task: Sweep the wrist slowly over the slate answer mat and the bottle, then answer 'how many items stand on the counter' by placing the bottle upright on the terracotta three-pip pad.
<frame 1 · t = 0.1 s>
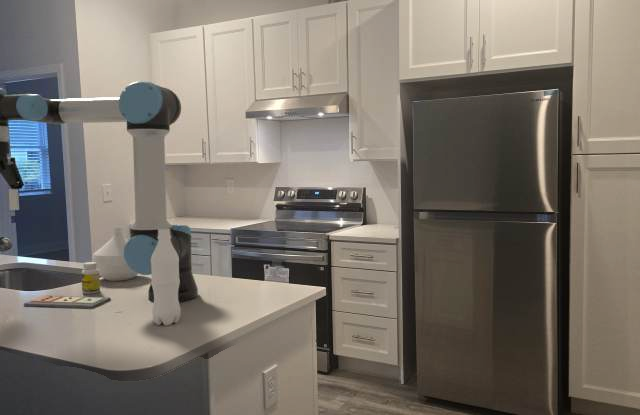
water bottle: (166, 323, 142), on the counter
vase: (119, 278, 199), on the counter
supplement bottle: (91, 292, 177), on the counter
answer mat: (68, 302, 163), on the counter
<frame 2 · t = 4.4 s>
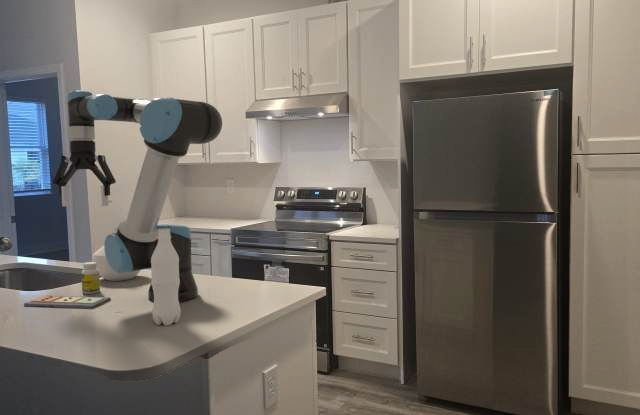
hand: (85, 206, 174), 29 cm above the counter, fingers open, 13 cm apart
nothing on the counter moved.
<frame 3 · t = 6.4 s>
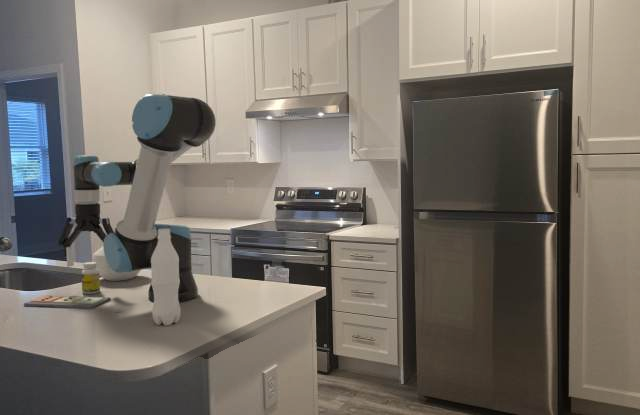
hand: (89, 267, 177), 8 cm above the counter, fingers open, 13 cm apart
nothing on the counter moved.
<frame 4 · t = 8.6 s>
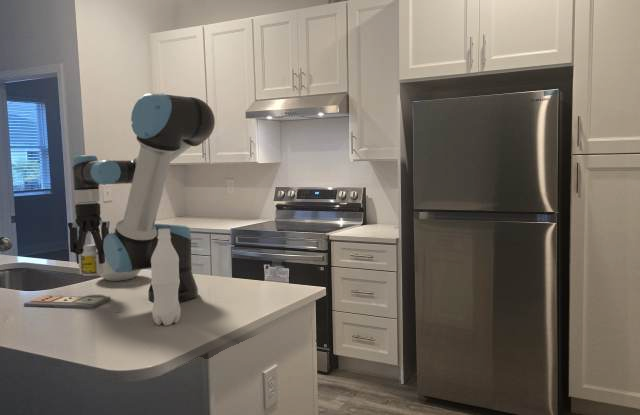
hand: (91, 273, 176), 6 cm above the counter, fingers closed on supplement bottle, 5 cm apart
supplement bottle: (91, 275, 176), point 6 cm above the counter, touching gripper
everything else where it was.
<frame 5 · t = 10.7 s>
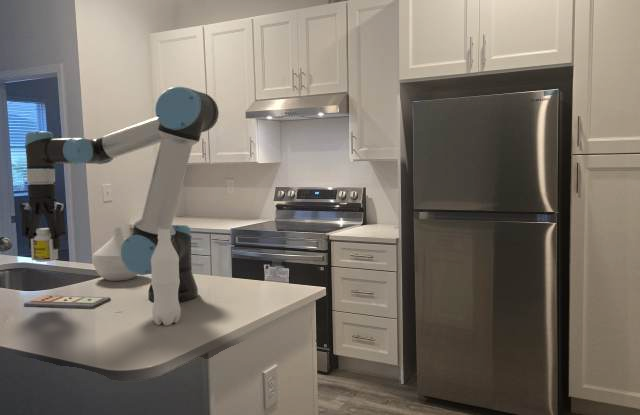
hand: (45, 259, 163), 13 cm above the counter, fingers closed on supplement bottle, 5 cm apart
supplement bottle: (45, 261, 163), point 13 cm above the counter, touching gripper
everything else where it was.
when the fingers open (2 cm above the counter, at t = 12.9 s): supplement bottle stays where it is, resting on answer mat.
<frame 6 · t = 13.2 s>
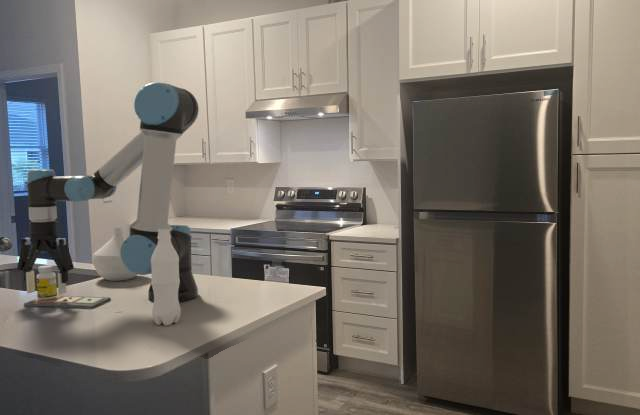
hand: (46, 292, 164), 3 cm above the counter, fingers open, 10 cm apart
supplement bottle: (47, 298, 164), point 1 cm above the counter, touching answer mat
everything else where it was.
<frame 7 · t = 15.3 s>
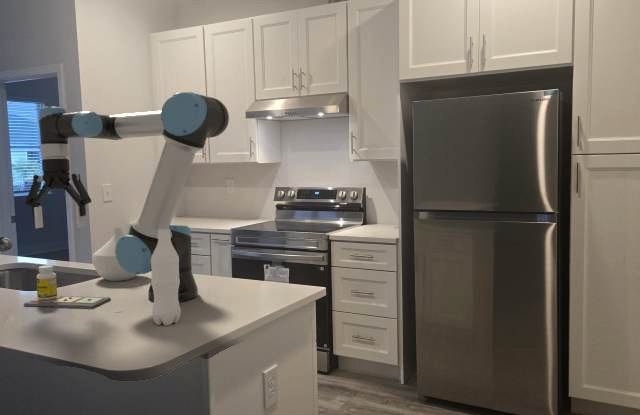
hand: (59, 227, 166), 23 cm above the counter, fingers open, 13 cm apart
nothing on the counter moved.
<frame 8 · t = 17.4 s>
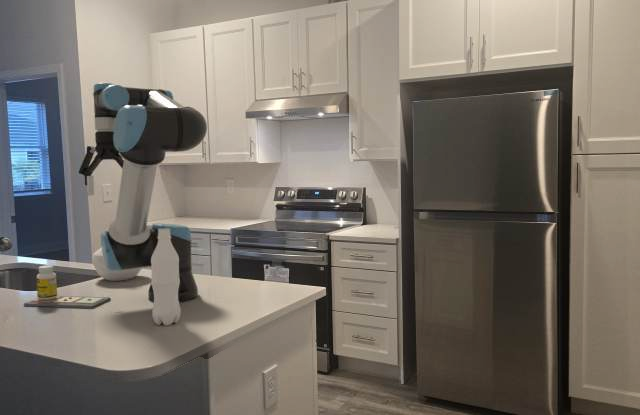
hand: (109, 195, 179), 32 cm above the counter, fingers open, 13 cm apart
nothing on the counter moved.
at the end: supplement bottle inside the target area (0.1 cm from its centre), point 1.1 cm above the counter; supplement bottle tilted 0°; the gripper is holding nothing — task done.
